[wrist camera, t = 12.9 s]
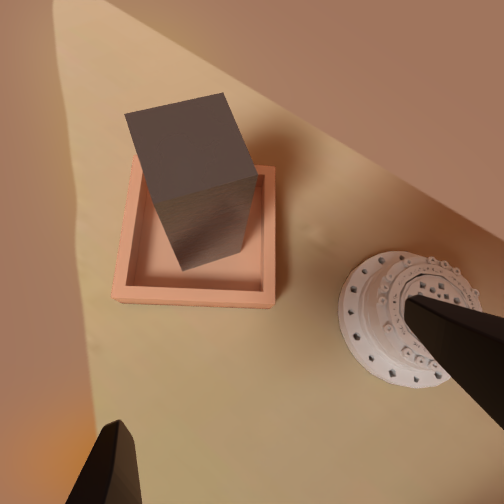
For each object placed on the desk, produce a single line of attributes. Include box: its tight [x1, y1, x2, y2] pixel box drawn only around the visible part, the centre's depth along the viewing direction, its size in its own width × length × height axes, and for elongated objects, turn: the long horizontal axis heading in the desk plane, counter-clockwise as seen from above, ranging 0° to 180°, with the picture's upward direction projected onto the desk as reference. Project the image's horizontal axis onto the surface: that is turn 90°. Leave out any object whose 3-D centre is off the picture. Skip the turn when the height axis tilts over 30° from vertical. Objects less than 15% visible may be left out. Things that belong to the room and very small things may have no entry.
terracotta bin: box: [111, 155, 275, 309], centre depth 23 cm, size 11×11×2 cm
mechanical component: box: [338, 251, 483, 388], centre depth 22 cm, size 10×4×10 cm
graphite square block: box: [124, 93, 258, 272], centre depth 19 cm, size 4×4×11 cm
